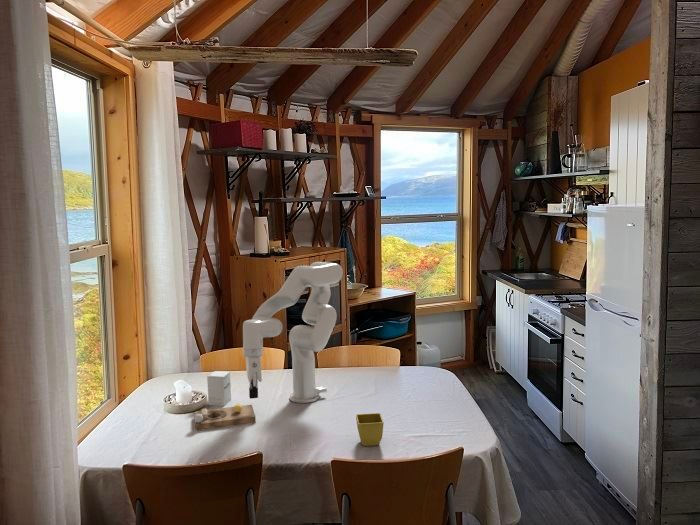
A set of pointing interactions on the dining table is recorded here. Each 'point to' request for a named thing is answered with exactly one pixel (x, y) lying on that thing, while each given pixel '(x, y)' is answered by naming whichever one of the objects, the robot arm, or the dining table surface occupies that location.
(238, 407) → the ball
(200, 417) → the grey ball
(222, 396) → the supplement box
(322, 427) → the dining table surface
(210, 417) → the board
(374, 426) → the flower pot
